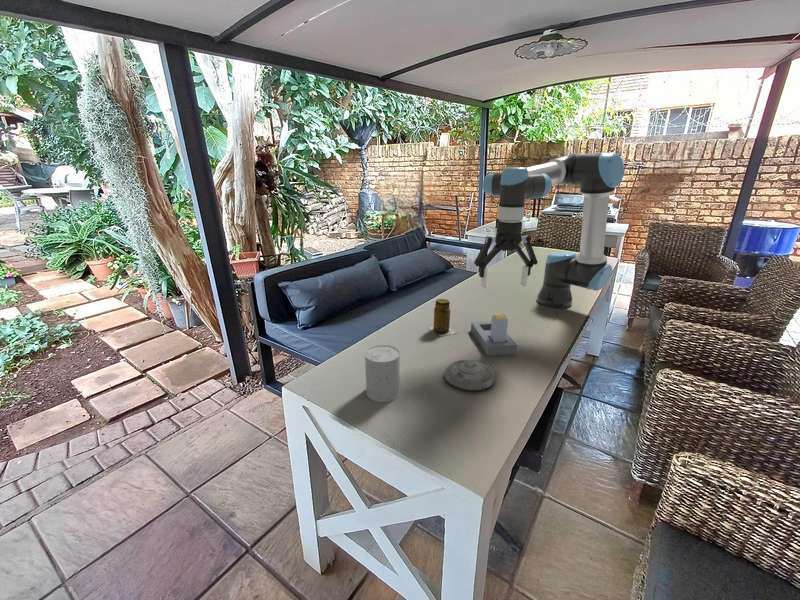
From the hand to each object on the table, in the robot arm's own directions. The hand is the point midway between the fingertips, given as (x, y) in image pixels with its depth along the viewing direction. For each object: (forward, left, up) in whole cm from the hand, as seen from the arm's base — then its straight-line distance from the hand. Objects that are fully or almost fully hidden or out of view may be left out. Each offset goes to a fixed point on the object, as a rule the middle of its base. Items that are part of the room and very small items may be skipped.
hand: (503, 286), depth 121 cm
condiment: (+16, -16, -23) cm, 32 cm away
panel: (0, -5, -23) cm, 23 cm away
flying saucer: (+15, +18, -23) cm, 33 cm away
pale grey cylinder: (+41, +22, -23) cm, 52 cm away
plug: (0, 0, -22) cm, 22 cm away
